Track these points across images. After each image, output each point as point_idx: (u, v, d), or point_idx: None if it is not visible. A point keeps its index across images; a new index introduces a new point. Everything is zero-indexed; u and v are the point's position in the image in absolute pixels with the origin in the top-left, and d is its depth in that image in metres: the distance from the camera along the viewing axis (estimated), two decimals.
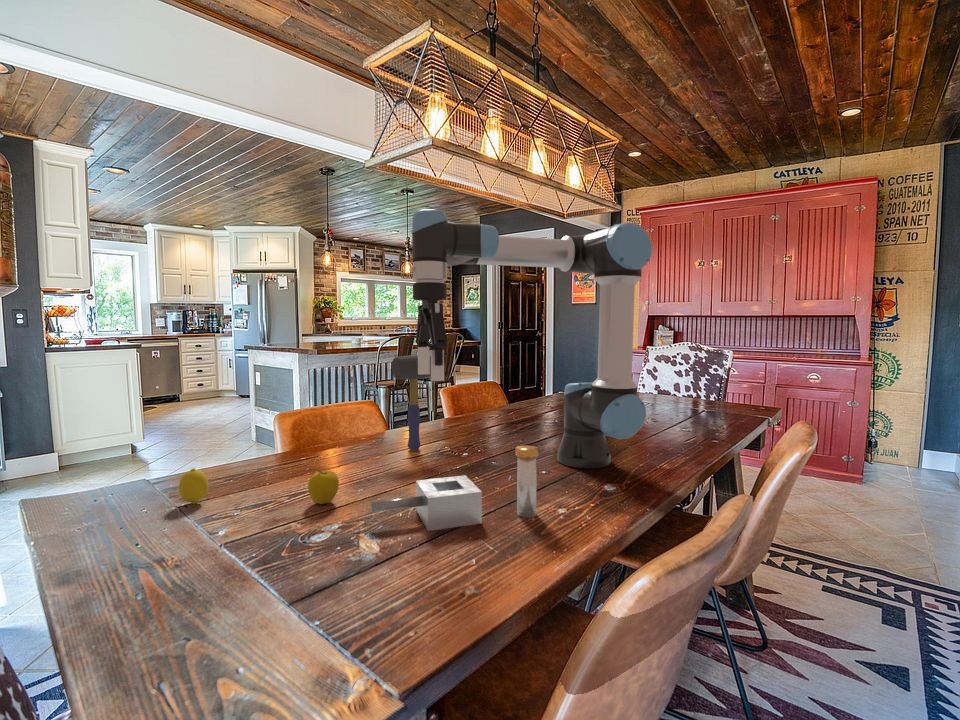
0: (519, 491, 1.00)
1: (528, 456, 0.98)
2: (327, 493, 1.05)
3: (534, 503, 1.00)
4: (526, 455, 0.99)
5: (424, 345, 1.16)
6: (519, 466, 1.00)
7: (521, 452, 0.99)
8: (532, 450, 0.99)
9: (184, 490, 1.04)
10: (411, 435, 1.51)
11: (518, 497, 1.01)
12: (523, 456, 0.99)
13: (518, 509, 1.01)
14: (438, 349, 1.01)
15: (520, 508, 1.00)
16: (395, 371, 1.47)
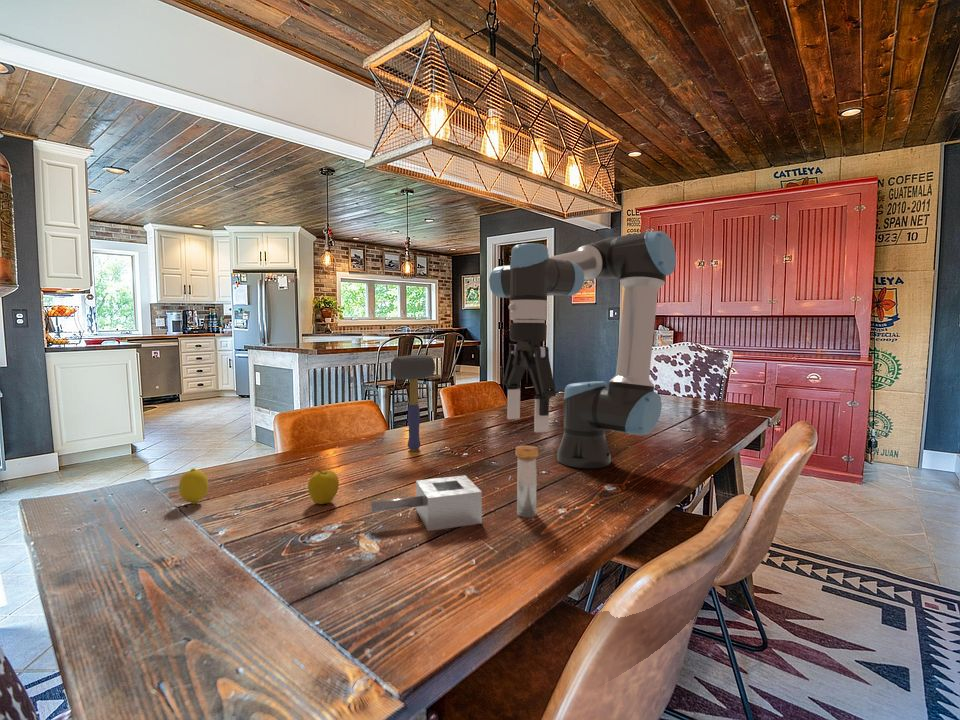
0: (519, 491, 1.00)
1: (528, 456, 0.98)
2: (327, 493, 1.05)
3: (534, 503, 1.00)
4: (526, 455, 0.99)
5: (514, 387, 1.07)
6: (519, 466, 1.00)
7: (521, 452, 0.99)
8: (532, 450, 0.99)
9: (184, 490, 1.04)
10: (411, 435, 1.51)
11: (518, 497, 1.01)
12: (523, 456, 0.99)
13: (518, 509, 1.01)
14: (545, 398, 0.92)
15: (520, 508, 1.00)
16: (395, 371, 1.47)
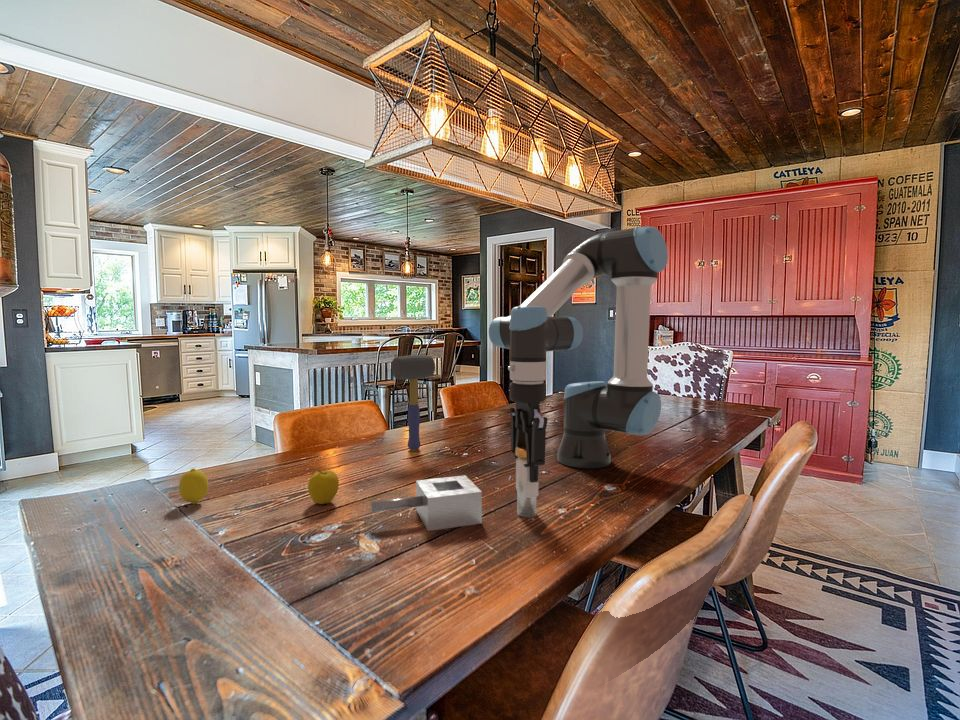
0: (519, 491, 1.00)
1: None
2: (327, 493, 1.05)
3: (534, 503, 1.00)
4: (526, 455, 0.99)
5: None
6: (519, 466, 1.00)
7: (521, 452, 0.99)
8: None
9: (184, 490, 1.04)
10: (411, 435, 1.51)
11: (518, 497, 1.01)
12: (523, 456, 0.99)
13: (518, 509, 1.01)
14: (534, 466, 0.97)
15: (520, 508, 1.00)
16: (395, 371, 1.47)
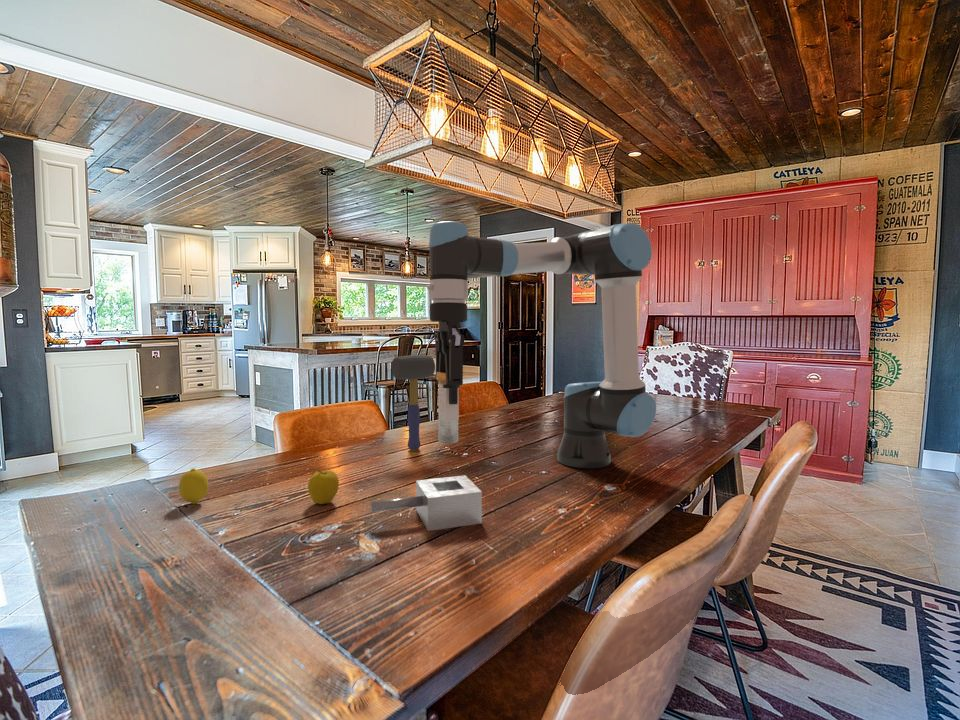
0: (439, 416, 0.98)
1: None
2: (327, 493, 1.05)
3: (455, 429, 0.98)
4: (445, 378, 0.96)
5: None
6: (439, 390, 0.97)
7: (441, 375, 0.96)
8: None
9: (184, 490, 1.04)
10: (411, 435, 1.51)
11: (439, 423, 0.98)
12: (442, 379, 0.96)
13: (439, 435, 0.98)
14: (453, 387, 0.94)
15: (440, 434, 0.98)
16: (395, 371, 1.47)
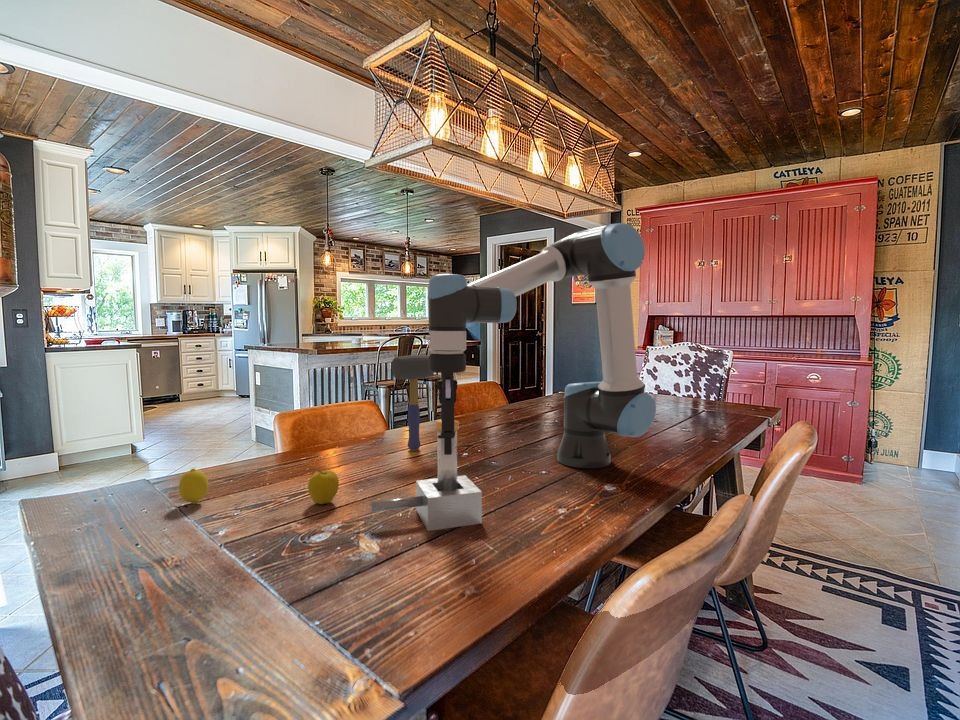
0: None
1: None
2: (327, 493, 1.05)
3: (452, 478, 0.98)
4: (441, 428, 0.97)
5: None
6: (437, 439, 0.98)
7: (437, 425, 0.97)
8: None
9: (184, 490, 1.04)
10: (411, 435, 1.51)
11: None
12: (439, 429, 0.97)
13: None
14: (446, 438, 0.95)
15: (438, 482, 0.99)
16: (395, 371, 1.47)
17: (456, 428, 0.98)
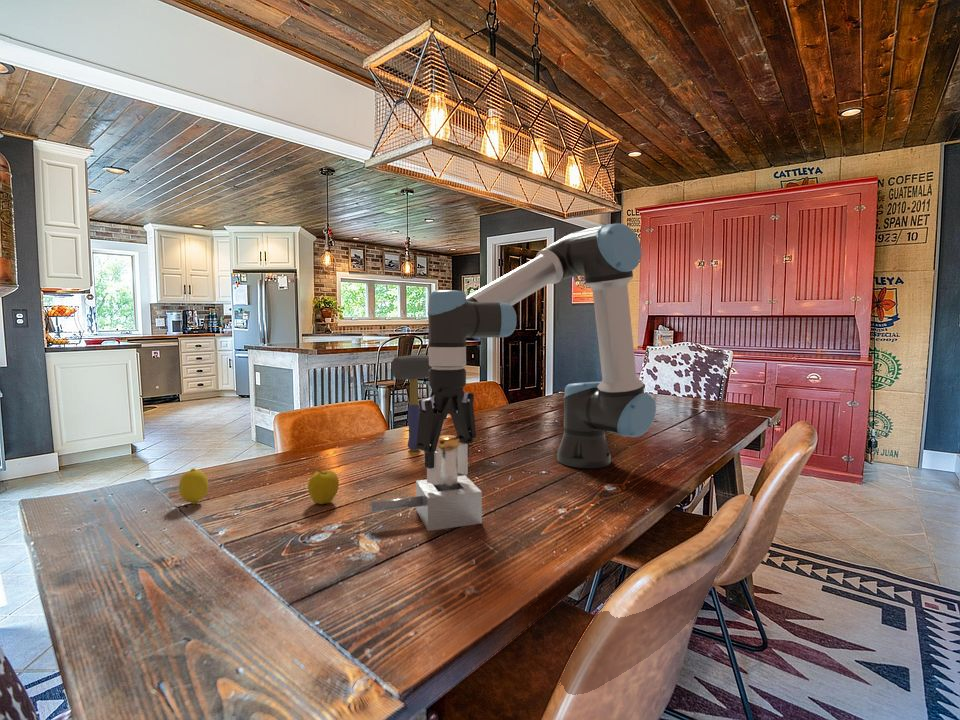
0: None
1: (437, 444, 0.98)
2: (327, 493, 1.05)
3: None
4: None
5: (463, 440, 1.02)
6: None
7: None
8: (442, 440, 0.98)
9: (184, 490, 1.04)
10: (411, 435, 1.51)
11: None
12: None
13: None
14: (425, 451, 0.95)
15: None
16: (395, 371, 1.47)
17: (448, 446, 0.97)
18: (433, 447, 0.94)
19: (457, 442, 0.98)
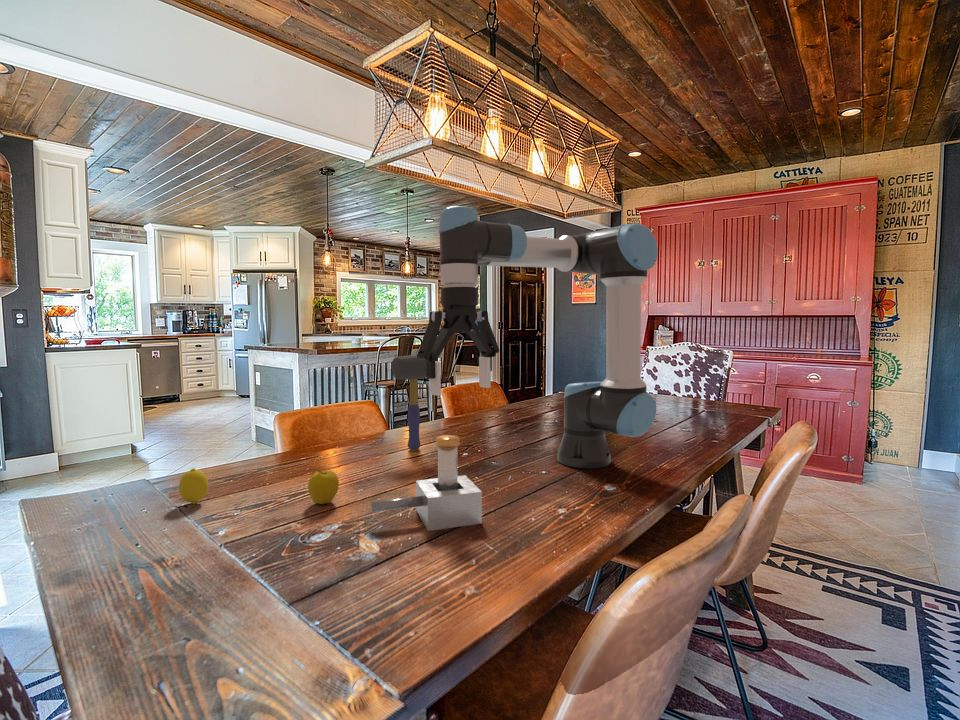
0: None
1: (437, 444, 0.98)
2: (327, 493, 1.05)
3: None
4: (436, 443, 0.98)
5: (486, 355, 1.04)
6: None
7: (436, 439, 0.99)
8: (442, 439, 0.98)
9: (184, 490, 1.04)
10: (411, 435, 1.51)
11: None
12: None
13: None
14: (426, 361, 0.93)
15: None
16: (395, 371, 1.47)
17: (448, 445, 0.97)
18: (434, 356, 0.93)
19: (457, 442, 0.98)
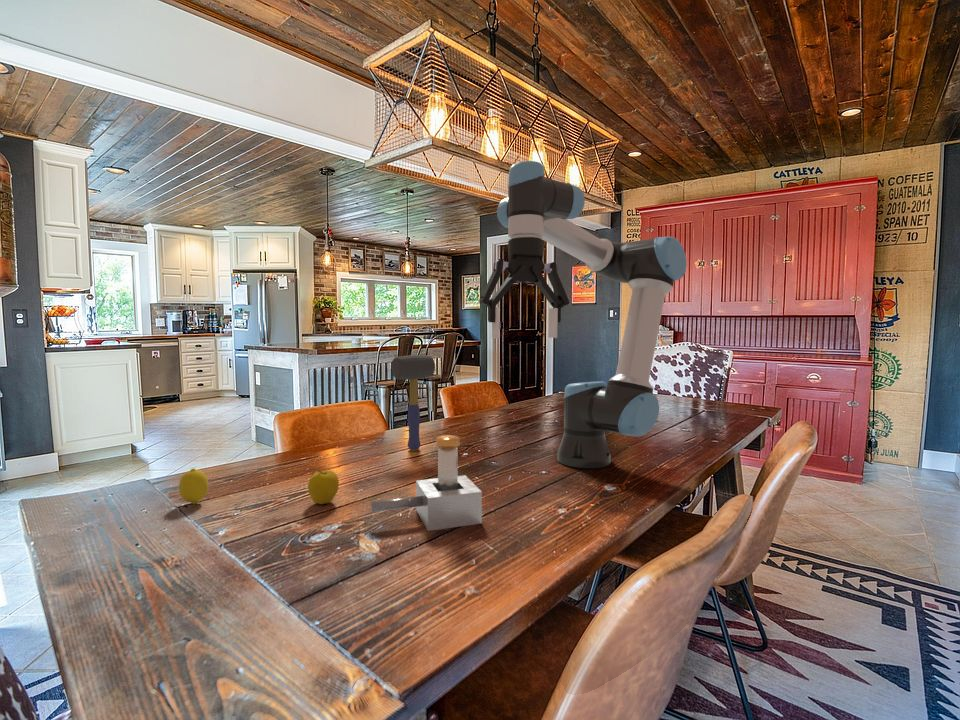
0: None
1: (437, 444, 0.98)
2: (327, 493, 1.05)
3: None
4: (436, 443, 0.98)
5: (555, 306, 1.07)
6: None
7: (436, 439, 0.99)
8: (443, 440, 0.97)
9: (184, 490, 1.04)
10: (411, 435, 1.51)
11: None
12: (436, 443, 0.99)
13: None
14: (487, 306, 1.02)
15: None
16: (395, 371, 1.47)
17: (449, 446, 0.97)
18: (494, 301, 1.01)
19: (457, 442, 0.98)
